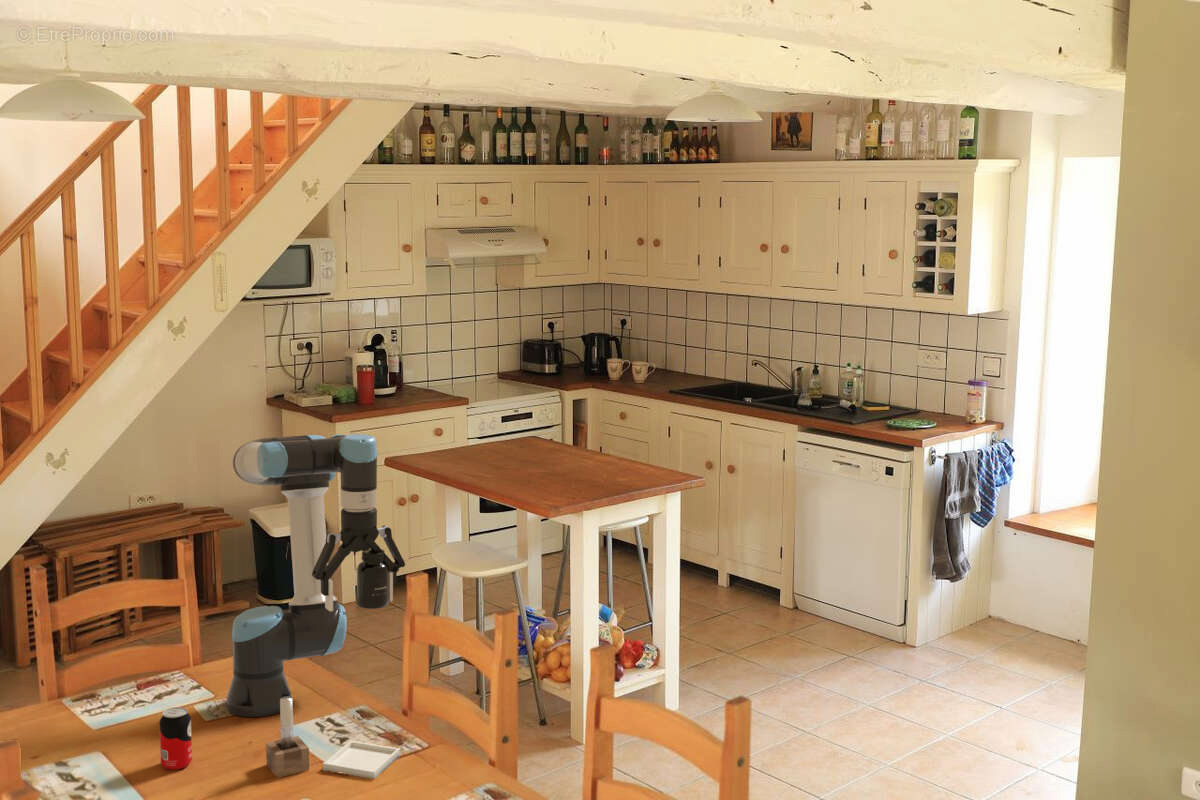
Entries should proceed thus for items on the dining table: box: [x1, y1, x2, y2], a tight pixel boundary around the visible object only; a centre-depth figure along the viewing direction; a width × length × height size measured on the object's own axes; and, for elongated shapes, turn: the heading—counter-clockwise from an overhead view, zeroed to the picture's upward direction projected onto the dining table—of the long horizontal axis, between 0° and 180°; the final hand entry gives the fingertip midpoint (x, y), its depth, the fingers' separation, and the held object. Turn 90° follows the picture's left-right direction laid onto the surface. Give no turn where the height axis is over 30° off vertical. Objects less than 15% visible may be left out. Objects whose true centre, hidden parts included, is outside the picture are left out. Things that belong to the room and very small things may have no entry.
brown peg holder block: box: [265, 735, 310, 778], centre depth 256 cm, size 7×7×5 cm
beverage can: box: [159, 706, 193, 771], centre depth 255 cm, size 6×6×12 cm
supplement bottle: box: [356, 548, 389, 610], centre depth 257 cm, size 7×7×12 cm
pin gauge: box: [279, 696, 294, 750], centre depth 255 cm, size 3×3×14 cm
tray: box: [322, 740, 401, 780], centre depth 259 cm, size 12×12×2 cm
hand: (359, 604), depth 256 cm, fingers open, 13 cm apart
